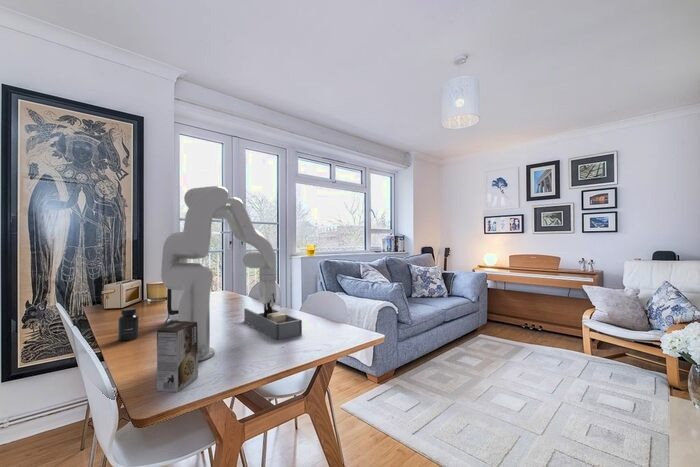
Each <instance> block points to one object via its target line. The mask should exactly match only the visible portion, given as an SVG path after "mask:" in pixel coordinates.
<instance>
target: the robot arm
mask: <svg viewBox="0 0 700 467" xmlns="http://www.w3.org/2000/svg"><path fill="white" fill-rule="evenodd" d="M183 201H184V204H185V206H186V207H187V208H188V209H187V210H186V214H185V219H184V222H183V223H184V225H183V230H182V231H178V232H177V231H176V232H172V233H171V234H169V236H167V237H166V239H165V241H164V243H163V248H162V254H161V255H162V256H161V268H160V271H161V272H160V273H161V274H160V277H161V282H162V284H163V286H164V287H165V288H167V289H171V290H182V291H184V292H183V294H182V297H181V299H180V302H179V321H189V322H197V333H198V362H201V361H204V360H208V359H211V357H213V356H214V355H215V352H216V351H215V348H213V347H211V346H210V345H211V340H210V339H211V338H210V336H211V335H210V334H211V333H210V328H211V327H210V326H211V324H210V322H211V320H210V318H211V316H210V313H211V312H210V311H211V310H210V306H211V305H210V304H211V303H210V302H211V301H210V300H211V299H210V298H211V291H212V290H211V289H212V285H213V278H214V276H213V271H212V269H211V268H210V267H209V266H208V265H206V264H204V263H201V262H200V263H199V262H188V260H201V259H204V258H206V257H207V256H208V255H209V252H210V249H211V236H212V224H213V223H212V222H213V220H214V219H215V220H224V219H225V220H226V221H227V224H228V226H229V228H230V230H231V232H232V234H233V236H234V238H236V239H237V240H239V241H241V242H243V243H245V244H248V245H250V246H252V247H253V248H255V249H256V250H257V251H256V250H251V251H247V253H245V254H244V255H243V257H242V263H243V265H244V266H245V267H247V268H249V269H259V270H258V271H259V274H258V275H259V276H258V278H259V280H258V281H259V284H258V285H259V287H258V301H259V302H260V303H262V304H263V313H264V317H265V318H267V314H271V313H272V308H273V307H274V306H275V303H276V302H277V285H276V282H277V253H276V251H274V248H273V245H272V244H271V242H270V241H269V240H268V238H266V236H264V235H263V234H262V233H261V232H260V231H258V230H257V229H256V228H255V227H254V224H253V222H252V220H251V218H250V215H249V213H248V211H247V209H246V206H245V203H243V200H242V199H240V198H238V197H232V196H231V197H230V194H229V191H228V189H227V188H226V187H223V186H220V185H214V186H213V185H212V186H205V187H204V186H203V187H195V188H190V189H188V190H187V191H186V192H185V193H184V196H183Z"/></svg>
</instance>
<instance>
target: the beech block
mask: <svg viewBox="0 0 700 467" xmlns="http://www.w3.org/2000/svg"><path fill="white" fill-rule="evenodd" d="M281 312H282V311H281ZM281 312H277V313H271V314H267V319H270V320H272V321H274V322H276V323H278V324H279V323H285V322H286V314H287V313H285V314H283V313H284V312H283V313H281Z"/></svg>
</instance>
